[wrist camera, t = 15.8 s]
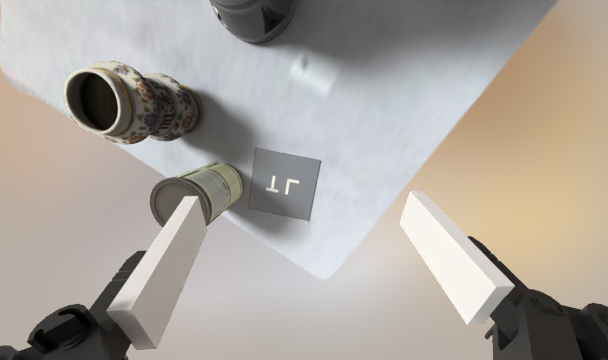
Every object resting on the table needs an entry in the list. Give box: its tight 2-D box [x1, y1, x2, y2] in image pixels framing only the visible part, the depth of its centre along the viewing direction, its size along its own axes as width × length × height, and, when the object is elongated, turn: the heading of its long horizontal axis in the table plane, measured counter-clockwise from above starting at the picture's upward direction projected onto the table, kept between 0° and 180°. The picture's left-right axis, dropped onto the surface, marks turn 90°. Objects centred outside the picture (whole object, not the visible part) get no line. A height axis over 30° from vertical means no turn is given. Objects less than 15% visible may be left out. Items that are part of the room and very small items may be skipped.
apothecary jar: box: [63, 61, 202, 144], centre depth 38 cm, size 12×12×18 cm
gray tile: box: [249, 148, 320, 221], centre depth 48 cm, size 14×14×1 cm
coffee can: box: [150, 162, 242, 227], centre depth 42 cm, size 10×10×14 cm
